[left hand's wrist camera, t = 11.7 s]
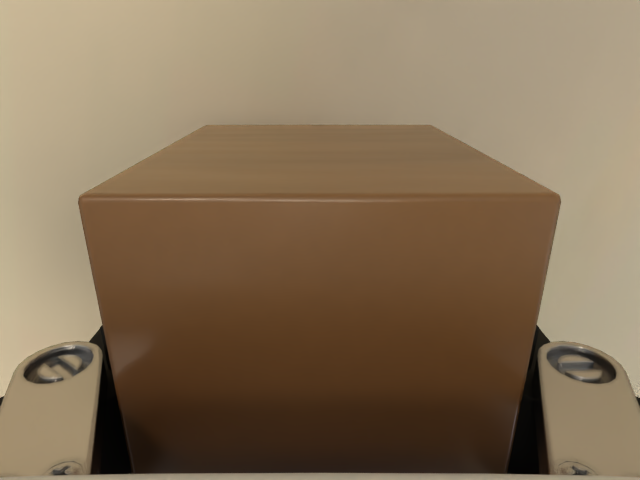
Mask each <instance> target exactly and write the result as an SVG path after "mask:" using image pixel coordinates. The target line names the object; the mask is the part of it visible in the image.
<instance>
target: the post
mask: <svg viewBox="0 0 640 480" xmlns="http://www.w3.org/2000/svg"><path fill="white" fill-rule="evenodd" d="M78 204H79V209H80V214H81V219H82V224H83V229H84V234H85V239H86V244H87V249H88V254H89V259H90V264H91V269H92V274H93V279H94V284H95V289H96V294H97V299H98V304H99V309H100V314H101V319H102V324H103V330H104V335H105V340H106V345H107V350H108V355H109V360H110V365H111V370H112V375H113V380H114V385H115V390H116V395H117V400H118V405H119V410H120V415H121V420H122V425H123V430H124V435H125V440H126V445H127V450H128V455H129V460H130V465H131V470H132V474H180V473H460V474H507V471H508V466H509V461H510V456H511V451H512V446H513V441H514V436H515V431H516V426H517V421H518V415H519V410H520V405H521V400H522V395H523V390H524V385H525V380H526V375H527V370H528V365H529V360H530V355H531V350H532V345H533V340H534V335H535V330H536V325H537V320H538V315H539V310H540V305H541V300H542V295H543V290H544V284H545V279H546V274H547V269H548V264H549V259H550V254H551V249H552V244H553V239H554V234H555V229H556V224H557V219H558V214H559V209H560V204H561V199H560V196H559V194H557V193H555V192H553V191H551V190H550V189H548V188H546V187H544V186H542V185H540V184H538V183H537V182H535V181H533V180H531V179H529V178H527V177H526V176H524V175H522V174H520V173H518V172H516V171H515V170H513V169H511V168H509V167H507V166H505V165H504V164H502V163H500V162H498V161H496V160H494V159H492V158H491V157H489V156H487V155H485V154H483V153H481V152H480V151H478V150H476V149H474V148H472V147H470V146H469V145H467V144H465V143H463V142H461V141H459V140H458V139H456V138H454V137H452V136H450V135H448V134H446V133H445V132H443V131H441V130H439V129H437V128H435V127H434V126H431V125H206V126H203V127H202V128H200V129H198V130H196V131H195V132H193V133H191V134H189V135H187V136H186V137H184V138H182V139H180V140H178V141H177V142H175V143H173V144H171V145H169V146H168V147H166V148H164V149H162V150H161V151H159V152H157V153H155V154H153V155H152V156H150V157H148V158H146V159H144V160H143V161H141V162H139V163H137V164H135V165H134V166H132V167H130V168H128V169H127V170H125V171H123V172H121V173H119V174H118V175H116V176H114V177H112V178H110V179H109V180H107V181H105V182H103V183H101V184H100V185H98V186H96V187H94V188H93V189H91V190H89V191H87V192H85V193H84V194H82V195H80V197H79V201H78Z"/></svg>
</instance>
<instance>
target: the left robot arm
mask: <svg viewBox="0 0 640 480" xmlns="http://www.w3.org/2000/svg"><path fill="white" fill-rule="evenodd" d="M0 480H640V398H638V397H636V396H635V394H634V391H633V389H632V386H631V383H630V381H629V378H628V376H627V373H626V371H625V370H624V368H623V367H622V365H621V364H620V363H618V362H617V361H616V360H615V359H614V358H613V357H611V356H609V355H607V354H606V353H604V352H602V351H600V350H598V349H595V348H593V347H590V346H587V345H583V344H579V343H575V342H565V341H559V342H550V341H549V340H548V339H547V337H546V336H545V335H544V334H543V333H542V331H541V330H540V329H539V327H538V326H537V325H536V330H535V335H534V340H533V345H532V350H531V355H530V360H529V365H528V370H527V375H526V380H525V385H524V390H523V395H522V400H521V405H520V410H519V415H518V421H517V426H516V431H515V436H514V441H513V446H512V451H511V456H510V461H509V466H508V471H507V474H460V473H180V474H132V470H131V465H130V460H129V455H128V450H127V445H126V440H125V435H124V430H123V425H122V420H121V415H120V410H119V405H118V400H117V395H116V390H115V385H114V380H113V375H112V370H111V365H110V360H109V355H108V350H107V345H106V340H105V335H104V330H103V325H102V326H101V327H100V329H99V330H98V332H97V333H96V334H95V335H94V336H93V338H92V339H91V340H90V341H89V342H81V341H75V342H65V343H61V344H57V345H53V346H50V347H47V348H45V349H42V350H40V351H38V352H36V353H34V354H33V355H31V356H29V357H27V358H26V359H25V360H24V361H23V362H22V363H20V364H19V365H18V367H17V368H16V370H15V371H14V373H13V376H12V378H11V381H10V383H9V386H8V389H7V391H6V394H5V396H3V397H1V398H0Z"/></svg>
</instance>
